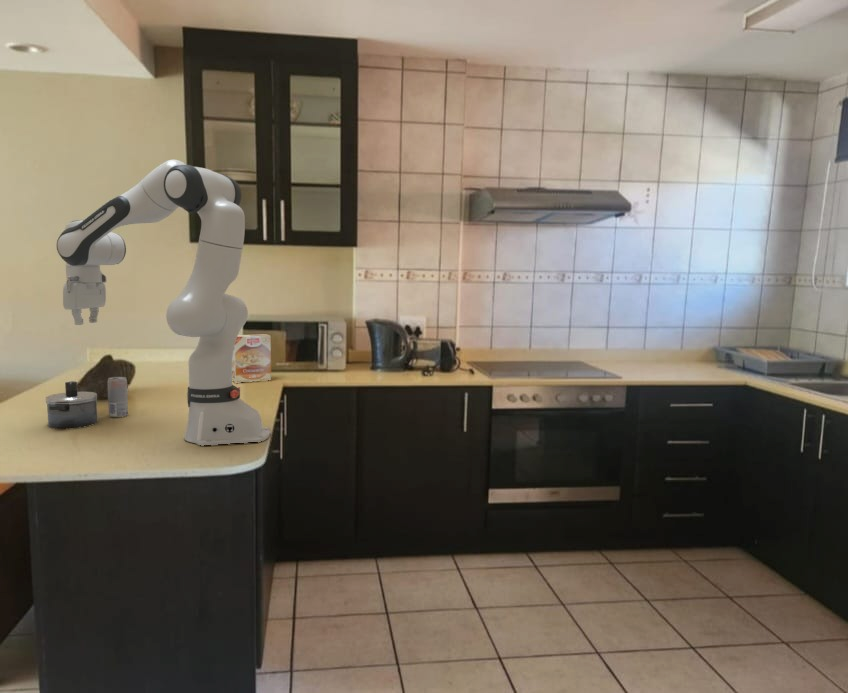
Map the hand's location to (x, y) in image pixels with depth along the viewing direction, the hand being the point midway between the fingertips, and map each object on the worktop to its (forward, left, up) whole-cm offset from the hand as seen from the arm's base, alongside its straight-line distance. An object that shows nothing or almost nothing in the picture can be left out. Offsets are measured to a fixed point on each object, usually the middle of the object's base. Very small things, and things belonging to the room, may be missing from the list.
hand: (86, 323), depth 182 cm
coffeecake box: (-35, -70, -30) cm, 84 cm away
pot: (+3, +4, -29) cm, 30 cm away
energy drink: (-6, -6, -30) cm, 31 cm away
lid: (+3, +4, -22) cm, 22 cm away
